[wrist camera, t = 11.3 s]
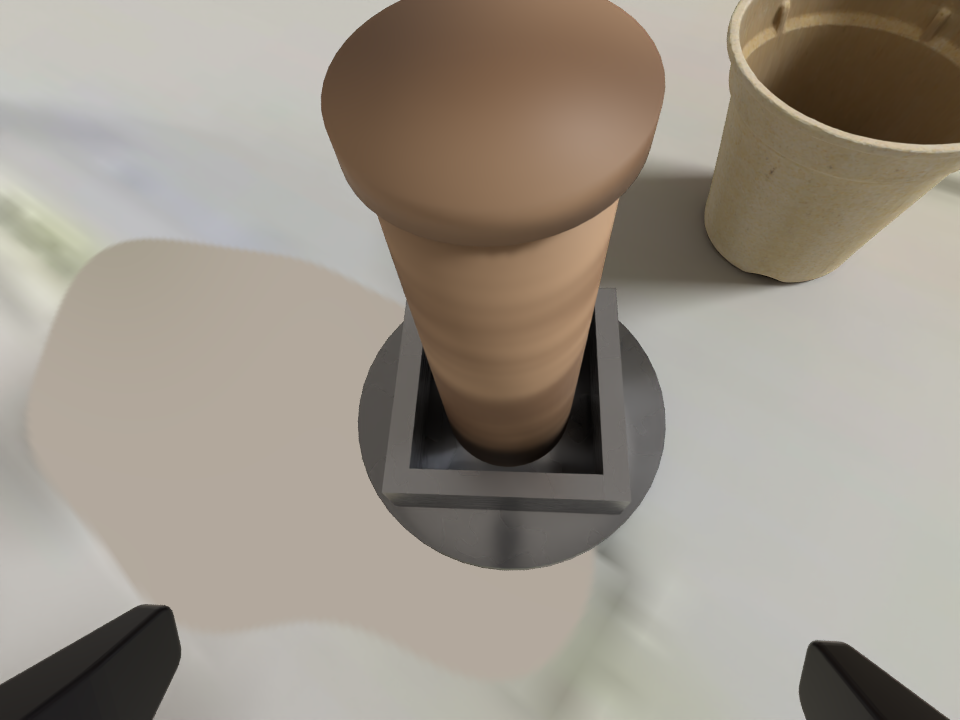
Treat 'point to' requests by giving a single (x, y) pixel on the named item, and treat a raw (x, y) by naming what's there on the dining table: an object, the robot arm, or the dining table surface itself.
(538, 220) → the brown tapered domed piece
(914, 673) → the dining table surface
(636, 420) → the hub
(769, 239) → the flower pot
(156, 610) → the robot arm
